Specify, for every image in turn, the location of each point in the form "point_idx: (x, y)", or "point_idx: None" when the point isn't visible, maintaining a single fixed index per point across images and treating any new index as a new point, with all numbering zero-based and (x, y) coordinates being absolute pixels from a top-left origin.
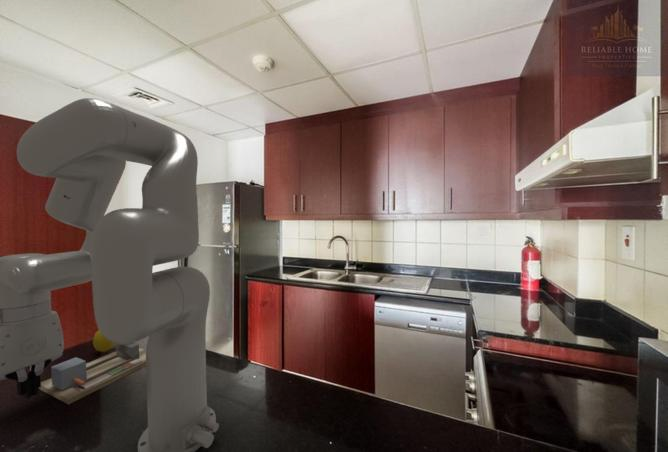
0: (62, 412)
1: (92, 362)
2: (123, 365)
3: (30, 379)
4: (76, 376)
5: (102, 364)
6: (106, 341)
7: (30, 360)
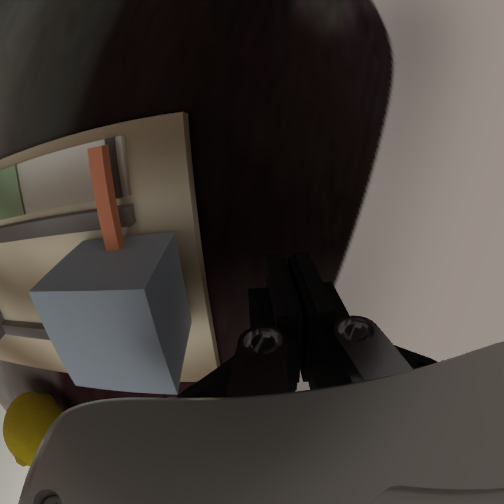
0: (225, 69)
1: None
2: None
3: (312, 315)
4: (102, 252)
5: (39, 318)
6: (25, 414)
7: (409, 429)
